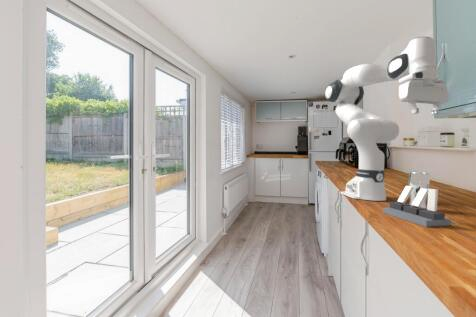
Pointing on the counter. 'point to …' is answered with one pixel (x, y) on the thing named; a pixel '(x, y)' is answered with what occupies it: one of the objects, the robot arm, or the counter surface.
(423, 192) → the breaker
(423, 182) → the beer glass
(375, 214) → the counter surface
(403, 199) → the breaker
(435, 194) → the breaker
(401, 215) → the panel
